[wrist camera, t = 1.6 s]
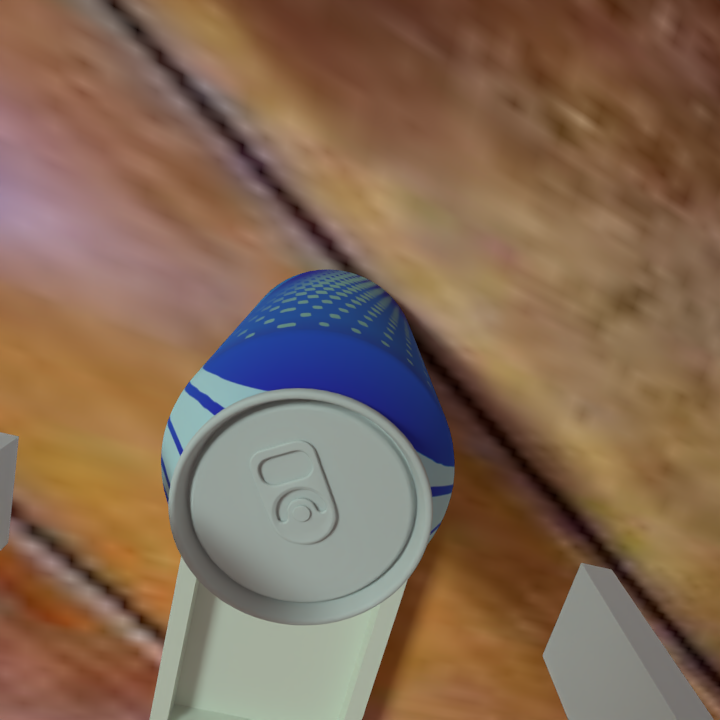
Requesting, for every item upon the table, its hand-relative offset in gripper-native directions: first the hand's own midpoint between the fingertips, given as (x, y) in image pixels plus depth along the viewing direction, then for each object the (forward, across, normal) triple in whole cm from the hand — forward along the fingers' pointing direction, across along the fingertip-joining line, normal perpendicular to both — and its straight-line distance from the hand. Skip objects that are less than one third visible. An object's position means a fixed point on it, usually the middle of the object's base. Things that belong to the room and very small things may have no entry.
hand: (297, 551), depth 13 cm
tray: (+17, +1, -16) cm, 23 cm away
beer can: (+17, 0, 0) cm, 17 cm away
